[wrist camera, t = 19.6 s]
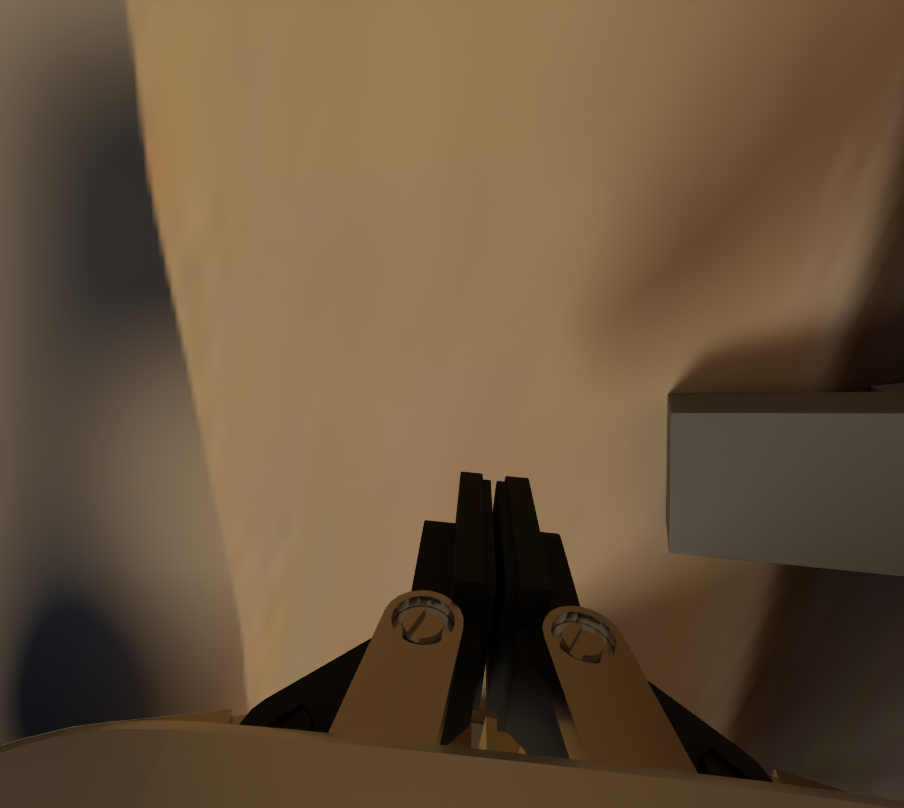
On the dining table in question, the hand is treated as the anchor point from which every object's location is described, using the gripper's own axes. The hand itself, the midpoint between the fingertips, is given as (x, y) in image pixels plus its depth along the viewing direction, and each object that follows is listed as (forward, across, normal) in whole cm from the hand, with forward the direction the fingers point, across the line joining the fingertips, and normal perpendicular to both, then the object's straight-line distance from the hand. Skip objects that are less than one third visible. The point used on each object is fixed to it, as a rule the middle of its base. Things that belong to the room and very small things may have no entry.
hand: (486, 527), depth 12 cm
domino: (+5, -6, 0) cm, 8 cm away
